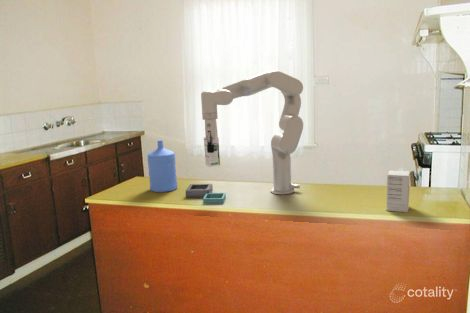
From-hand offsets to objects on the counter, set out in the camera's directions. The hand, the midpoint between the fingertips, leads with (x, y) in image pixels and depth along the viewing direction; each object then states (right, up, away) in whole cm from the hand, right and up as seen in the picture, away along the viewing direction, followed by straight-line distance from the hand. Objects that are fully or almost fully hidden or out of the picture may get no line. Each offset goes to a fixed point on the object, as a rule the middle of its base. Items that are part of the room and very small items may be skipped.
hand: (211, 150), depth 218 cm
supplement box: (+86, -27, -20) cm, 93 cm away
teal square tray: (+1, -26, +5) cm, 26 cm away
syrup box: (0, -7, +2) cm, 8 cm away
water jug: (-29, -22, +32) cm, 49 cm away
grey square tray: (-8, -23, +18) cm, 30 cm away
